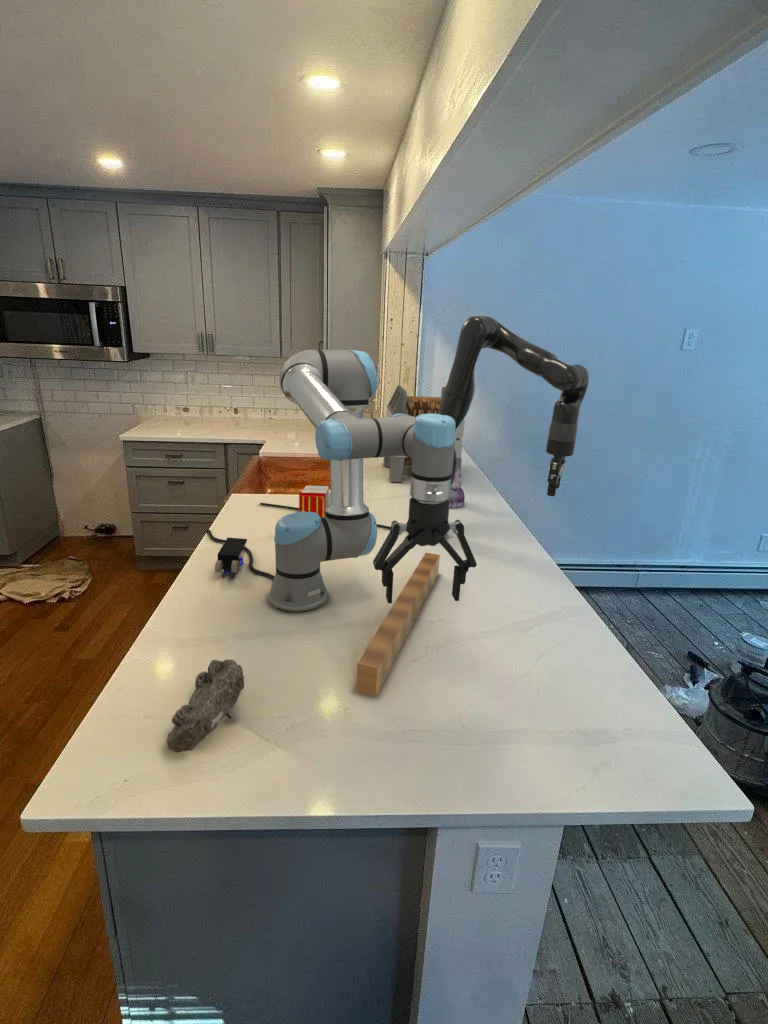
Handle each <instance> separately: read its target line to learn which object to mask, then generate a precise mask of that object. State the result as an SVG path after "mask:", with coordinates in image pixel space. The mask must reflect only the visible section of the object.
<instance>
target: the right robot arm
mask: <svg viewBox="0 0 768 1024" xmlns="http://www.w3.org/2000/svg"><path fill="white" fill-rule="evenodd" d="M462 324H463V325H462V326H461V328H460V332H459V337H458V342H457V346H456V351H455V354H454V356H455V357H454V358H453V359H454V360H453V362H452V366H451V369H450V373H449V376H448V379H447V383H446V385H445V387H446V388H445V391H444V394H443V397H442V400H441V404H440V407H439V410H438V413H437V414H441V415H447V416H450V417H452V418H453V419H454V420H455V424H456V425H455V430H456V429H457V427H458V426H459V425H460V424H461V422H462V421H463V419H464V420H465V418H466V416H467V415H468V412H469V410H470V408H471V405H472V402H473V399H474V397H475V390H476V382H475V368H476V364H477V362H478V359H479V356H480V353H481V351H482V349H491V350H495V351H498V352H500V353H502V354H504V355H506V356H508V357H509V358H510V359H512V360H513V361H514V362H515V363H516V364H517V365H518V366H520V367H521V368H522V369H524V370H526V371H528V372H530V373H532V374H533V375H535V376H538V377H539V378H542V379H543V380H544V381H545V382H547V384H549V385H550V386H552V387H553V388H554V389H556V390H559V391H560V396H559V398H558V399H557V400H556V401H555V403H554V405H553V409H552V410H553V411H552V416H551V421H550V425H549V429H548V436H547V442H546V446H545V447H546V448H545V452H546V453H547V454H549V455H552V456H553V457H552V458H551V459H550V461H549V469H548V476H547V480H546V481H547V483H548V485H547V492H546V495H547V496H549V497H555V496H556V491H557V489H559V488H560V484H561V478H562V476H563V473H564V471H565V466H566V461H567V460H566V457H571V456H573V455H574V451H575V445H576V441H577V434H578V422H579V419H580V418H579V417H580V412H581V405H582V403H583V401H584V398H585V396H586V392H587V390H588V386H589V381H590V375H589V370H588V369H587V368H586V367H585V366H584V365H582V364H568V363H566V362H564V361H562V360H560V359H559V358H558V356H557V355H556V354H554V353H552V352H551V351H548V350H547V349H546V348H545V349H544V348H543V347H540V345H537V344H535V343H532V342H530V341H529V340H526V339H524V338H522V337H520V336H518V335H517V334H515V333H514V332H513V331H511V330H509V329H508V328H506V327H505V326H504V325H503V324H502V323H500V322H499V321H497V320H496V319H494V318H493V317H492V316H488V315H487V316H486V315H473V316H469V317H468V318H467V319H466V320H465V321H464V323H462ZM456 461H457V456H456V451H455V448H454V458H453V468H452V476H451V486H452V484H453V481H454V477H455V469H456ZM450 493H451V490H450ZM448 501H449V502H450V498H449V499H448ZM259 505H260V506H267V507H274V508H281V509H288V510H293V511H299V507H295V506H288V505H283V504H282V505H281V504H276V503H275V504H274V503H268V502H260V503H259ZM449 505H450V503H449ZM448 517H450V516H449V515H448ZM376 525H377V528H382V529H387V530H391V526H388V525H385V524H379V523H376ZM444 537H445V539H446V540H447V538H448V533H447V534H446V535H445V536H444Z"/></svg>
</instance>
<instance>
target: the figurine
mask: <svg viewBox="0 0 768 1024" xmlns="http://www.w3.org/2000/svg"><path fill="white" fill-rule="evenodd" d="M459 473H460V469H459V468H458V469H457V470H456V472H455V477H454V481H453V484H452V486H451V493H450V505H449V508H452V509H456V508H461V507H463V505H464V503H465V498H466V496H465V492H464V490H463V489H462V487H461V486H462V481H461V477H460V478H459Z"/></svg>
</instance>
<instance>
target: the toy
mask: <svg viewBox="0 0 768 1024" xmlns="http://www.w3.org/2000/svg"><path fill="white" fill-rule="evenodd" d="M329 489H330V487H329V485H305V487H304V488H303V489H301V492H300V491H299V492H298V508H299V510H298V512H302V511H306V512H315V513H317V514H318V515H319V516H320V518H322V517H325V516H326V511H325V509H326V508H327V507H328V506H329V505H330V504H331V490H329Z"/></svg>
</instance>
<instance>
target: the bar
mask: <svg viewBox="0 0 768 1024" xmlns="http://www.w3.org/2000/svg"><path fill="white" fill-rule="evenodd" d="M440 557H441V554H436V553H430V552H425V553H424V555H423V556H422V558H421V560H420V561H419V562H418V564H417V566H416V568H415V569H414V570H413V572H412V574H411V576H410V577H409V579H408V581H407V582H406V583H405V585H404V587H403V589H402V590H401V591H400V593H399V595H398V597H397V598H396V600H395V602H394V603H393V604H392V606H391V607H390V610H389V611H388V613H387V614H386V616H385V617H384V619H383V621H382V622H381V624H380V626H379V627H378V629H377V631H376V632H375V634H374V635H373V637H372V639H371V640H370V642H369V643H368V645H367V647H365V650H364V651H363V653H362V655H361V656H360V658H359V660H358V661H357V663H356V686H355V688H356V689H355V691H356V692H359V693H363V694H368V695H372V696H377V694H378V693H379V691H380V689H381V687H382V685H383V683H384V681H385V679H386V677H387V675H388V673H389V671H390V670H391V667H392V665H393V664H394V661H395V660H396V658H397V656H398V654H399V652H400V650H401V649H402V646H403V644H404V643H405V641H406V638H407V637H408V634H409V633H410V630H411V629H412V627H413V625H414V623H415V621H416V619H417V617H418V615H419V614H420V611H421V609H422V607H423V606H424V604H425V601H426V600H427V598H428V596H429V594H430V592H431V590H432V589H433V586H434V585H435V582H436V580H437V578H438V576H439V569H440V561H441V560H440Z"/></svg>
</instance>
